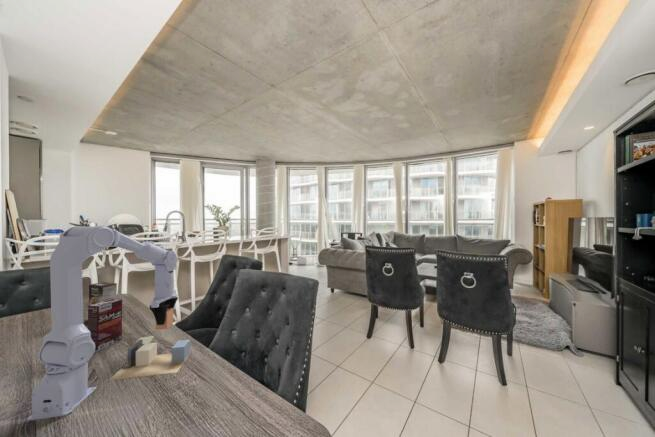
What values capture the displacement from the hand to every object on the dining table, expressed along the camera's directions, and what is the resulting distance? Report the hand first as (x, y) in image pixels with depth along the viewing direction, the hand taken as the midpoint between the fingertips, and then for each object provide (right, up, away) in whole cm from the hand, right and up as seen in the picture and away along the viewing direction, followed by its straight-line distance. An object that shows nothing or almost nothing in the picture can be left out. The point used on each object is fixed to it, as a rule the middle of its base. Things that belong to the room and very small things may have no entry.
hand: (164, 321), depth 89 cm
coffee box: (-47, -10, +27) cm, 55 cm away
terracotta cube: (0, -2, 0) cm, 2 cm away
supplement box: (-21, -9, 0) cm, 23 cm away
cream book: (+2, -8, -11) cm, 14 cm away
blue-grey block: (+11, -8, -9) cm, 17 cm away
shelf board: (+5, -9, -13) cm, 16 cm away
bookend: (-2, -8, -12) cm, 14 cm away
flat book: (-8, -9, +1) cm, 13 cm away
